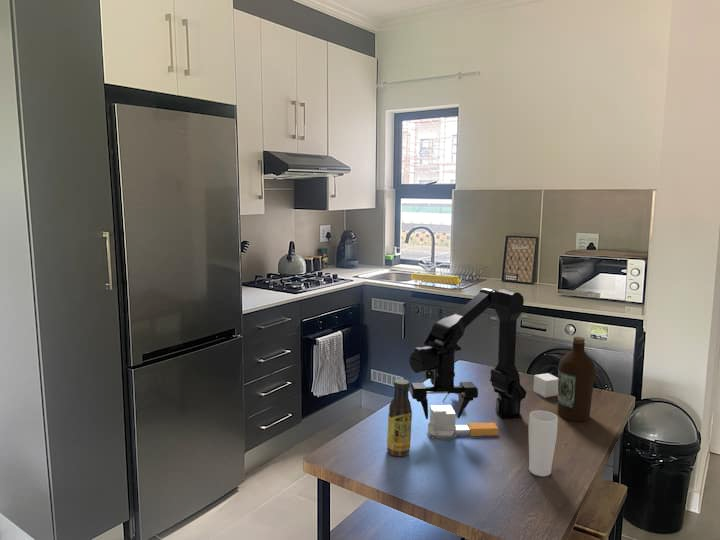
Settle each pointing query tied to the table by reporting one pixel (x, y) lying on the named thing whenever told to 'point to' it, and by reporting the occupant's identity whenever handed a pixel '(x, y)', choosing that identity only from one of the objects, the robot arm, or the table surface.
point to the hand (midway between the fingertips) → (442, 418)
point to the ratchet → (465, 430)
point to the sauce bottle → (399, 420)
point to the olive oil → (575, 383)
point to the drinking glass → (542, 441)
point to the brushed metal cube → (442, 417)
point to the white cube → (546, 385)
